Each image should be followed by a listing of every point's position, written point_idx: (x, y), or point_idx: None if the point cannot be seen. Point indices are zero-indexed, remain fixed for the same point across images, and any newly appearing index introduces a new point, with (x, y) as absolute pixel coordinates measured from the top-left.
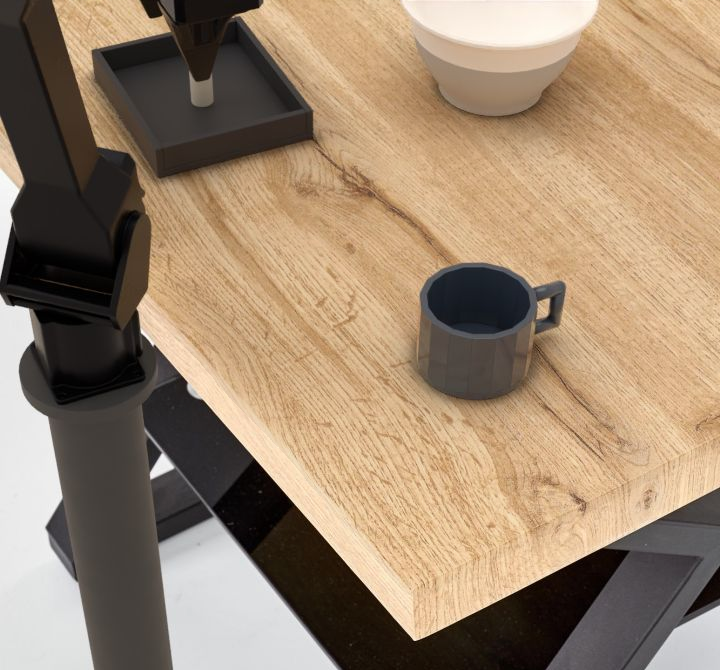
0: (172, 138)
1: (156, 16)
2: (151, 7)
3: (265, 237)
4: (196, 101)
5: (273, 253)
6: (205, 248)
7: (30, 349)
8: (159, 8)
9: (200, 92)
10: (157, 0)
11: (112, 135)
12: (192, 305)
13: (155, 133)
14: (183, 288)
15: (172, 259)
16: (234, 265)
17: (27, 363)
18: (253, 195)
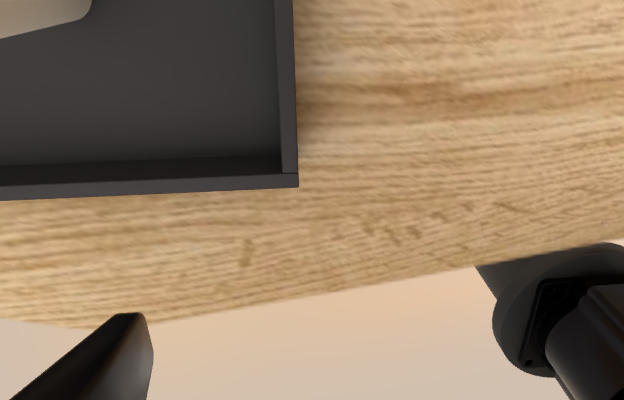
0: (198, 107)
1: (147, 336)
2: (138, 391)
3: (551, 34)
4: (80, 15)
5: (599, 38)
6: (514, 146)
7: (519, 363)
8: (136, 352)
9: (74, 7)
10: (122, 394)
11: (138, 196)
12: (617, 206)
13: (171, 134)
14: (576, 206)
15: (507, 201)
16: (581, 117)
17: (536, 368)
18: (424, 5)
